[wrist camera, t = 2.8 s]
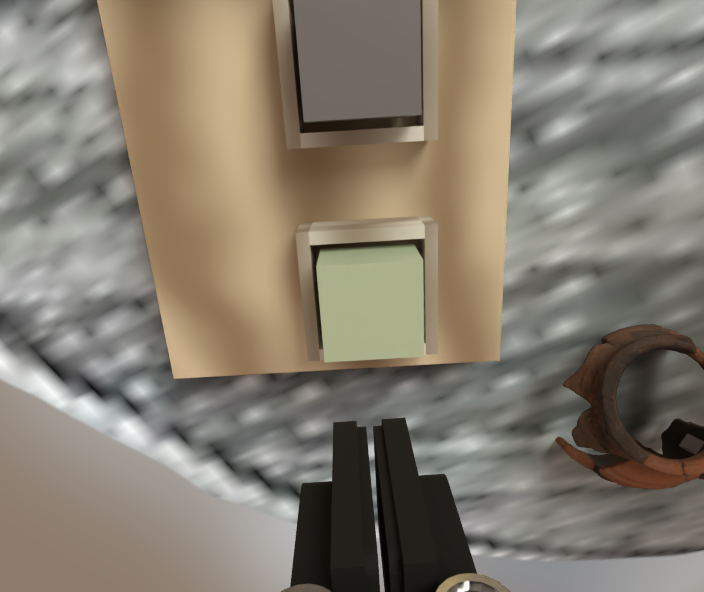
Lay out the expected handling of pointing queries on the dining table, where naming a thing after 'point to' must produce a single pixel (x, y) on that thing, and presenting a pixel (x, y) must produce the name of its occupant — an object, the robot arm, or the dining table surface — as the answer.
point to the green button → (371, 302)
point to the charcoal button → (359, 59)
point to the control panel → (308, 179)
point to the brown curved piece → (605, 424)
